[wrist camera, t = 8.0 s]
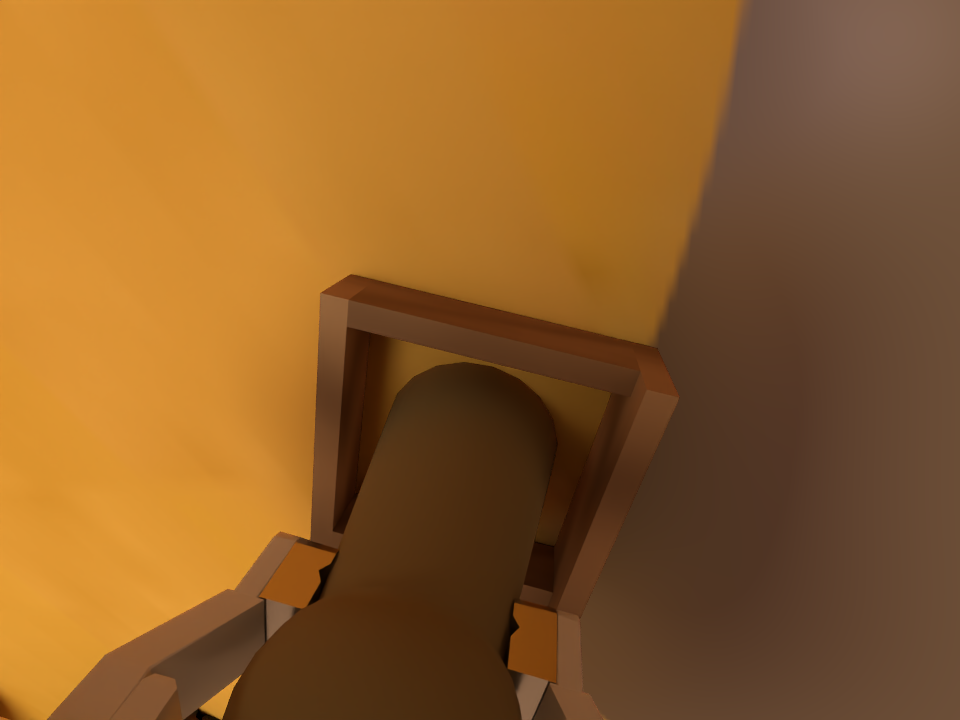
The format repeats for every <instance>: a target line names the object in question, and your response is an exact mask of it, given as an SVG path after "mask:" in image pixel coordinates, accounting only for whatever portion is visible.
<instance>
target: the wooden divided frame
mask: <svg viewBox="0 0 960 720" xmlns="http://www.w3.org/2000/svg"><path fill="white" fill-rule="evenodd" d="M370 333H374V334H378V335H382V336H386V337H390V338H394V339H398V340H402V341H406V342H411V343H415V344H419V345H423V346H427V347H431V348H435V349H439V350H443V351H447V352H451V353H455V354H459V355H463V356H467V357H471V358H475V359H479V360H483V361H487V362H491V363H495V364H499V365H503V366H507V367H511V368H515V369H519V370H523V371H527V372H531V373H535V374H539V375H543V376H547V377H551V378H555V379H559V380H563V381H567V382H571V383H575V384H579V385H583V386H587V387H592V388H596V389H600V390H604V391H608V392H612V394H611V396H610V399H609V402H608V405H607V407H606V410H605V413H604V415H603V418H602V421H601V423H600V426H599V429H598V431H597V434H596V437H595V439H594V442H593V445H592V447H591V450H590V453H589V456H588V458H587V461H586V464H585V466H584V469H583V472H582V474H581V477H580V480H579V482H578V485H577V488H576V490H575V493H574V496H573V498H572V501H571V504H570V506H569V509H568V512H567V515H566V517H565V520H564V523H563V525H562V528H561V531H560V533H559V536H558V539H557V541H556V544H555V547H551V546H547V545H543V544H540V543H536V542H534V544H533V548H532V552H531V556H530V560H529V564H528V568H527V572H526V576H525V580H524V584H523V588H522V592H521V596H520V599H521V600H525V601H528V602H532V603H536V604H540V605H544V606H547V607H551V608H555V609H556V610H560V611H563V612H567V613H571V614H575V615H578V616H579V619H580V618H581V615H582V613H583V611H584V609H585V606H586V604H587V602H588V600H589V598H590V595H591V593H592V591H593V589H594V586H595V584H596V582H597V580H598V578H599V575H600V573H601V571H602V569H603V567H604V564H605V562H606V560H607V557H608V555H609V553H610V551H611V549H612V547H613V544H614V542H615V540H616V538H617V536H618V533H619V531H620V529H621V527H622V525H623V522H624V520H625V518H626V516H627V513H628V511H629V509H630V507H631V505H632V502H633V500H634V498H635V496H636V494H637V491H638V489H639V487H640V485H641V482H642V480H643V478H644V476H645V473H646V471H647V469H648V467H649V465H650V462H651V460H652V458H653V456H654V454H655V451H656V449H657V447H658V445H659V443H660V440H661V438H662V436H663V434H664V432H665V429H666V427H667V425H668V423H669V420H670V418H671V416H672V414H673V411H674V409H675V407H676V405H677V403H678V401H679V398H680V397H679V395H678V393H677V391H676V388H675V386H674V384H673V382H672V380H671V377H670V375H669V373H668V371H667V369H666V366H665V364H664V362H663V360H662V357H661V355H660V353H659V351H658V349H657V348H654V347H650V346H646V345H641V344H637V343H633V342H629V341H625V340H621V339H616V338H612V337H608V336H604V335H600V334H596V333H592V332H587V331H583V330H579V329H575V328H571V327H567V326H563V325H558V324H554V323H550V322H546V321H542V320H538V319H534V318H529V317H525V316H521V315H517V314H513V313H509V312H505V311H500V310H496V309H492V308H488V307H484V306H480V305H476V304H471V303H467V302H463V301H459V300H455V299H451V298H447V297H442V296H438V295H434V294H430V293H426V292H422V291H418V290H413V289H409V288H405V287H401V286H397V285H393V284H389V283H384V282H380V281H376V280H372V279H368V278H364V277H359V276H355V275H351V274H350V275H349V276H347V277H346V278H344V279H342V280H341V281H339V282H338V283H336V284H334V285H333V286H331V287H329V288H328V289H326V290H325V291H323V292H321V295H320V320H319V344H318V369H317V394H316V418H315V443H314V467H313V492H312V517H311V541H313V542H317V543H320V544H323V545H326V546H330V547H333V548H336V549H338V547H339V544H340V542H341V539H342V536H343V534H344V531H345V528H346V526H347V523H348V521H349V518H350V515H351V513H352V510H353V507H354V505H355V502H356V500H357V497H358V494H355V489H356V478H357V468H358V457H359V446H360V436H361V425H362V415H363V404H364V394H365V383H366V373H367V362H368V351H369V341H370Z"/></svg>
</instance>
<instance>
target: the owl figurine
mask: <svg viewBox="0 0 960 720" xmlns="http://www.w3.org/2000/svg"><path fill="white" fill-rule="evenodd" d="M197 713H198V710H195V711H194V712H193V713H192V714H190V715H189V716H188V717H186V718H185V719H184V720H199V719H197V718H196V714H197ZM202 720H219V719H216V718H214V717H211V716H209V715H205V716H204V717H203V719H202Z"/></svg>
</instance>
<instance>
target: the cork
mask: <svg viewBox="0 0 960 720" xmlns="http://www.w3.org/2000/svg"><path fill="white" fill-rule="evenodd" d="M556 449H557V439H556V433H555V427H554V422H553V419H552V417H551V416H550V414H549V412H548V411H547V409H546V407H545V405H544V404H543V402H542V400H541V398H540V397H539V396H537V395H536V394H535V393H534V392H533V391H532V390H531V389H530V388H529V387H527V386H526V385H525V384H524V383H523V382H522V381H521V380H520V379H518V378H516V377H513V376H511V375H509V374H507V373H505V372H503V371H501V370H499V369H496V368H494V367H491V366H485V365H479V364H472V363H466V362H462V363H454V364H447V365H439V366H435V367H433V368H431V369H429V370H427V371H425V372H423V373H421V374H419V375H417V376H415V377H413V378H412V379H411V380H410V381H409V382H408V383H407V384H406V385H405V386H404V387H403V389H402V390H401V391H400V392H399V393H398V394H397V396H396V398H395V401H394V403H393V406H392V408H391V410H390V413H389V415H388V418H387V421H386V423H385V426H384V429H383V431H382V434H381V436H380V439H379V442H378V444H377V447H376V450H375V452H374V455H373V457H372V460H371V463H370V465H369V468H368V471H367V473H366V476H365V479H364V481H363V484H362V486H361V489H360V492H359V494H358V497H357V500H356V502H355V505H354V507H353V510H352V513H351V515H350V518H349V521H348V523H347V526H346V528H345V531H344V534H343V536H342V539H341V542H340V544H339V547H338V549H339V552H338V554H337V556H336V558H335V561H334V563H333V565H332V567H331V570H330V572H329V575H328V577H327V580H326V582H325V584H324V587H323V589H322V592H321V594H320V598H319V600H318V601H317V602H315V603H313V604H311V605H308V606H306V607H304V608H302V609H301V610H300V611H299V612H297V613H296V614H295V615H294V616H292V617H291V618H290V619H289V620H288V621H286V622H285V623H284V624H283V625H282V626H281V627H280V628H279V629H278V630H277V631H276V632H275V633H274V634H273V635H272V636H271V637H270V638H269V639H268V640H267V641H266V642H265V644H264V645H263V646H262V647H261V648H260V649H259V650H258V651H257V652H256V653H255V655H254V656H253V658H252V659H251V661H250V663H249V664H248V666H247V667H246V669H245V671H244V672H243V674H242V675H241V677H240V679H239V680H238V682H237V683H236V685H235V687H234V688H233V691H232V694H231V697H230V699H229V702H228V705H227V708H226V710H225V713H224V716H223V719H222V720H522V716H521V710H520V704H519V701H518V697H517V694H516V690H515V687H514V683H513V680H512V677H511V676H510V674H509V672H508V670H507V668H506V666H505V664H504V663H503V661H504V657H505V652H506V648H507V645H508V642H509V637H510V620H511V614H512V608H513V602H514V598H517V599H520V596H521V592H522V588H523V584H524V580H525V576H526V572H527V568H528V564H529V560H530V556H531V552H532V548H533V544H534V540H535V536H536V532H537V528H538V524H539V520H540V516H541V512H542V508H543V504H544V500H545V496H546V492H547V488H548V484H549V480H550V476H551V472H552V468H553V463H554V458H555V453H556Z"/></svg>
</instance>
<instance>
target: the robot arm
mask: <svg viewBox="0 0 960 720" xmlns="http://www.w3.org/2000/svg"><path fill="white" fill-rule="evenodd" d="M338 552H339V549H336V548H333V547H330V546H326V545H323V544H320V543H317V542H313V541H310V540H307V539H304V538H301V537H297V536H294V535H290V534H287V533H283V532H279V533H278V534H277V535H276V536H274V537H273V539H272V540H271V541H270V543H269V544H268V545H267V547H266V548H265V549H264V551H263V552H262V553H261V555H260V556H259V557H258V559H257V560H256V561H255V563H254V564H253V566H252V567H251V568H250V570H249V571H248V572H247V574H246V575H245V576H244V578H243V579H242V580H241V582H240V583H239V584H238V586H237V587H236V588H235V590H230V589H227V590H225V591H223V592H221V593H219V594H217V595H216V596H214V597H212V598H210V599H208V600H206V601H204V602H203V603H201V604H199V605H197V606H195V607H193V608H191V609H190V610H188V611H186V612H184V613H182V614H180V615H178V616H177V617H175V618H173V619H171V620H169V621H167V622H165V623H164V624H162V625H160V626H158V627H156V628H154V629H152V630H151V631H149V632H147V633H145V634H143V635H141V636H139V637H138V638H136V639H134V640H132V641H130V642H128V643H126V644H125V645H123V646H121V647H119V648H117V649H115V650H113V651H112V652H110V653H108V654H106V655H105V656H104V657H103V658H102V659H101V660H100V661H99V662H98V663H97V665H96V666H95V667H94V668H93V669H92V670H91V671H90V672H89V673H88V675H87V676H86V677H85V678H84V679H83V680H82V681H81V682H80V683H79V685H78V686H77V687H76V688H75V689H74V690H73V691H72V692H71V693H70V695H69V696H68V697H67V698H66V699H65V700H64V701H63V702H62V703H61V704H60V706H59V707H58V708H57V709H56V710H55V711H54V712H53V713H52V714H51V716H50V717H49V718H48V719H47V720H184V719H185V718H186V717H188V716H189V715H190V714H192V713H193V712H194V711H195V710H197V709H198V708H199V707H201V706H202V705H203V704H204V703H206V702H207V701H208V700H209V699H211V698H212V697H213V696H215V695H216V694H217V693H218V692H220V691H221V690H222V689H224V688H225V687H226V686H227V685H229V684H230V683H231V682H233V681H234V680H235V679H236V678H238V677H239V676H240V675H242V674H243V672H244V671H245V669H246V667H247V666H248V664H249V663H250V661H251V659H252V658H253V656H254V655H255V653H256V652H257V651H258V650H259V649H260V648H261V647H262V646H263V645H264V644H265V642H266V641H267V640H268V639H269V638H270V637H271V636H272V635H273V634H274V633H275V632H276V631H277V630H278V629H279V628H280V627H281V626H282V625H283V624H284V623H285V622H286V621H288V620H289V619H290V618H291V617H292V616H294V615H295V614H296V613H297V612H299V611H300V610H301V609H302V608H304V607H306V606H308V605H311V604H313V603H315V602H317V601H318V600H319V598H320V594H321V592H322V589H323V587H324V584H325V582H326V580H327V577H328V575H329V572H330V570H331V567H332V565H333V563H334V561H335V558H336V556H337V554H338ZM503 663H504V664H505V666H506V668H507V670H508V672H509V674H510V676H511V677H512V680H513V683H514V687H515V690H516V694H517V697H518V701H519V704H520V710H521V716H522V720H603V718H602V716H601V714H600V712H599V710H598V709H597V707H596V705H595V703H594V701H593V700H592V698H591V696H590V694H587V693H584V692H583V681H582V679H583V678H582V654H581V628H580V619H579V616H578V615H575V614H571V613H567V612H563V611H560V610H556V609H555V608H551V607H547V606H544V605H540V604H536V603H532V602H528V601H525V600H521V599H517V598H514V602H513V608H512V614H511V620H510V637H509V642H508V645H507V648H506V652H505V657H504V661H503ZM0 720H9V719H6V718H3V717H0Z"/></svg>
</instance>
